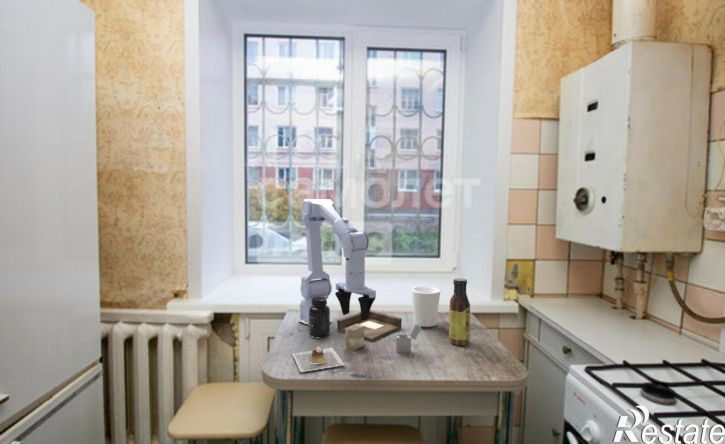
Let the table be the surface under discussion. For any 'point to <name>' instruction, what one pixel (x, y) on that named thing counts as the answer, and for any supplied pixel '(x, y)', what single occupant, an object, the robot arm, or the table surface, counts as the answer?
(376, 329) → the corner board
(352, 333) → the maple block
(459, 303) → the sauce bottle
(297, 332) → the table surface
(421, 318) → the cup
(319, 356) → the dessert
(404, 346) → the lighter
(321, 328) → the supplement bottle
